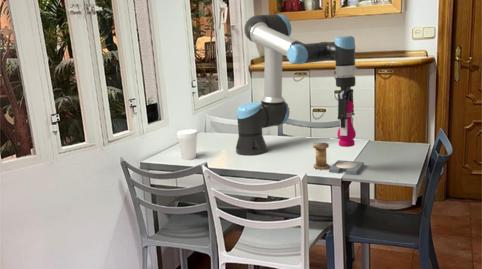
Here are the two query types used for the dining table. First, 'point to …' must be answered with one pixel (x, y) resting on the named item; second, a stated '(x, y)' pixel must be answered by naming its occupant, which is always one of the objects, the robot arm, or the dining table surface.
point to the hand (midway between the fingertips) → (346, 133)
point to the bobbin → (321, 156)
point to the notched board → (346, 167)
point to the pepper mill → (348, 129)
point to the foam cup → (187, 143)
